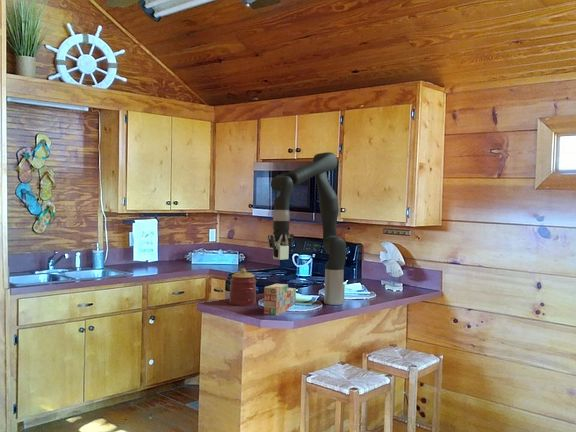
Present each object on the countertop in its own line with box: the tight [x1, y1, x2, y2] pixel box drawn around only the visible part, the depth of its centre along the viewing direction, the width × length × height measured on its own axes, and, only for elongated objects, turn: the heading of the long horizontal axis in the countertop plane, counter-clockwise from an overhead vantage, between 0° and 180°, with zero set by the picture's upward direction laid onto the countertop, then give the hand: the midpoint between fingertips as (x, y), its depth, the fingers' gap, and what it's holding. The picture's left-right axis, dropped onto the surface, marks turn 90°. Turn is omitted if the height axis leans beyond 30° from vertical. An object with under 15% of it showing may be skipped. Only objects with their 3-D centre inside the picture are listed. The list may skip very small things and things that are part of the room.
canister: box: [228, 268, 257, 307], centre depth 267 cm, size 13×13×18 cm
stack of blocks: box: [263, 283, 297, 316], centre depth 255 cm, size 21×6×12 cm, turn 155°
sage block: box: [272, 244, 290, 261], centre depth 253 cm, size 5×5×6 cm
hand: (280, 256), depth 253 cm, fingers closed on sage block, 5 cm apart
